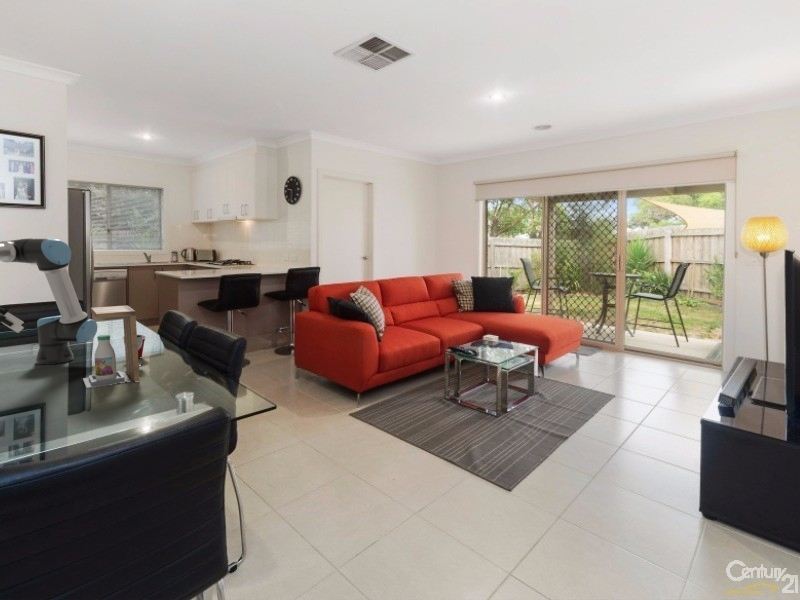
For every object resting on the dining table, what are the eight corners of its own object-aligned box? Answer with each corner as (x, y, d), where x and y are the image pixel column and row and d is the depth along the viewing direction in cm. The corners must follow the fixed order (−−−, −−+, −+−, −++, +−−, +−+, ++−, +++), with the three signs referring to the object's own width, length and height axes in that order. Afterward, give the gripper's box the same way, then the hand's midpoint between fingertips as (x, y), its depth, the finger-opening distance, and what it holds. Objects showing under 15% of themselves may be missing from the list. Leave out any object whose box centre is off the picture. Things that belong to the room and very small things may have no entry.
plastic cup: (136, 361, 224) (135, 339, 222) (118, 360, 226) (117, 337, 224) (152, 356, 234) (151, 334, 233) (135, 355, 236) (134, 333, 235)
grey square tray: (83, 379, 193) (82, 375, 193) (124, 373, 204) (124, 369, 204) (86, 389, 181) (86, 384, 181) (130, 381, 192) (130, 377, 192)
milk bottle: (102, 376, 196) (99, 333, 194) (120, 376, 197) (117, 333, 194) (92, 382, 188) (88, 337, 186) (110, 382, 189) (107, 337, 187)
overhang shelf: (96, 376, 198) (91, 307, 194) (131, 371, 207) (127, 305, 203) (101, 388, 183) (96, 313, 179) (139, 381, 192) (135, 310, 188)
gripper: (-43, 296, 168) (13, 329, 180) (-51, 303, 149) (12, 340, 161) (-25, 282, 171) (28, 315, 182) (-31, 287, 152) (29, 325, 164)
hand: (21, 327), depth 172 cm, fingers open, 13 cm apart
